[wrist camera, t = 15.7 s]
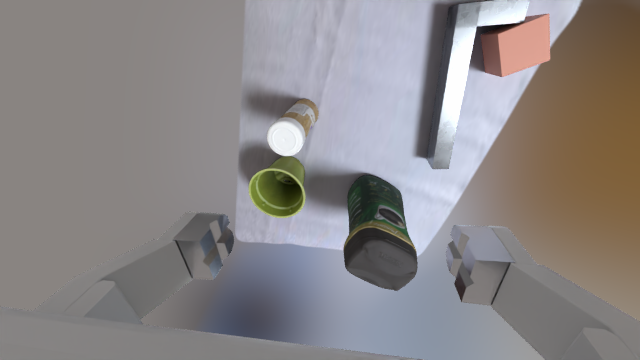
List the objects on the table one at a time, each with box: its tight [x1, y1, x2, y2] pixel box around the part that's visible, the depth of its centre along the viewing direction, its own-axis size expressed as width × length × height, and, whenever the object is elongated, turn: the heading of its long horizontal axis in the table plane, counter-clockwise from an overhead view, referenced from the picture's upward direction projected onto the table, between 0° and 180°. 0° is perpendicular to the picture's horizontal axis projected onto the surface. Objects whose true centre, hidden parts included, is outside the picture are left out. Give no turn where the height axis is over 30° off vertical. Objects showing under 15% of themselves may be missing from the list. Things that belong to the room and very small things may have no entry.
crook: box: [427, 0, 530, 169], centre depth 35 cm, size 21×7×4 cm, turn 4°
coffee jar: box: [344, 175, 417, 291], centre depth 40 cm, size 10×8×19 cm
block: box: [481, 14, 550, 77], centre depth 31 cm, size 5×5×5 cm
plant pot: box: [249, 156, 305, 218], centre depth 44 cm, size 9×9×9 cm
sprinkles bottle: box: [267, 99, 318, 156], centre depth 36 cm, size 5×5×14 cm
